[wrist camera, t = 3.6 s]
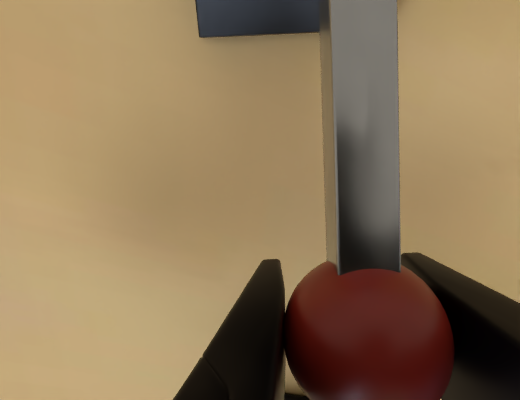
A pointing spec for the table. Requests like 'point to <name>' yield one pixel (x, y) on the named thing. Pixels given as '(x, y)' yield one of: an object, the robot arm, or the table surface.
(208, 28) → the lever base
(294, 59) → the table surface
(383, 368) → the red knob lever
